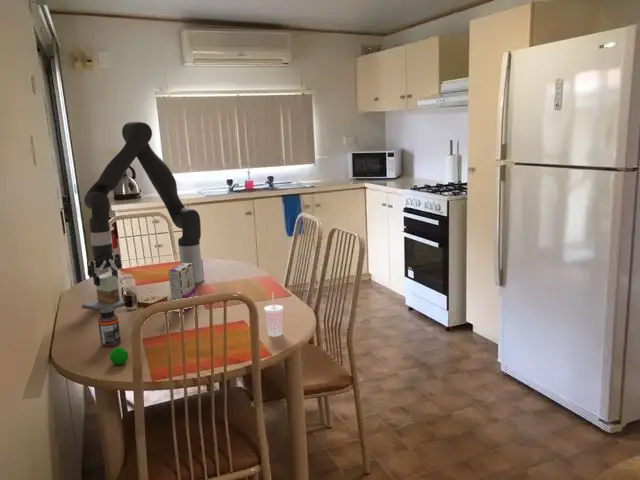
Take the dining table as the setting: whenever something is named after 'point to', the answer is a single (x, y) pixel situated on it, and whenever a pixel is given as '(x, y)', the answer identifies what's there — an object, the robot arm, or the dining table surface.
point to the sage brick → (107, 283)
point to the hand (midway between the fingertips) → (106, 282)
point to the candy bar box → (182, 282)
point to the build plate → (103, 304)
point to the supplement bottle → (109, 328)
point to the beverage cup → (274, 319)
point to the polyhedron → (119, 356)
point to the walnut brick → (108, 296)
